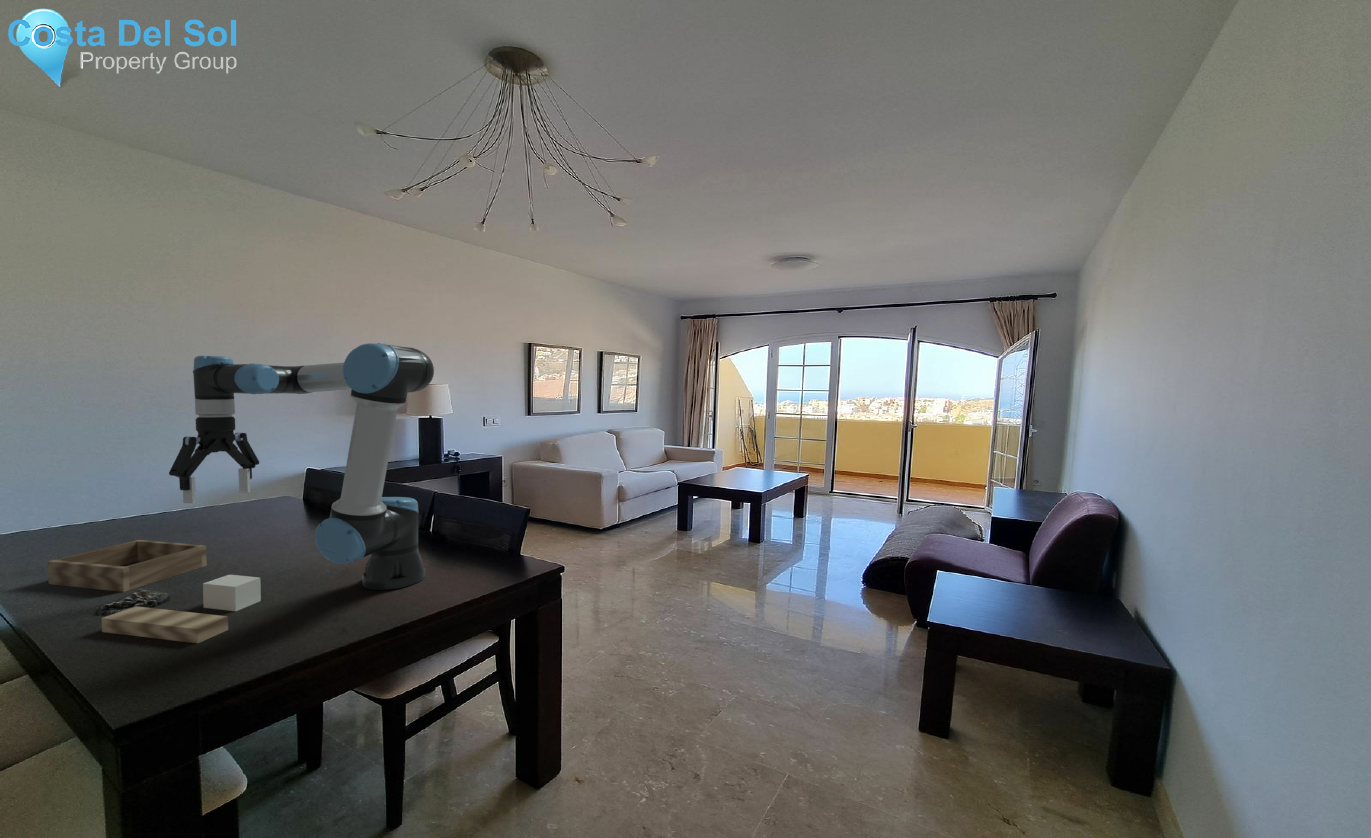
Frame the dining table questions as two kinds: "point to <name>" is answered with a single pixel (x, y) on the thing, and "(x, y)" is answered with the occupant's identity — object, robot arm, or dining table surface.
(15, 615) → the dining table surface
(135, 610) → the batten
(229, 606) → the block
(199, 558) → the wooden serving tray
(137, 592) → the crumpled grey lump
